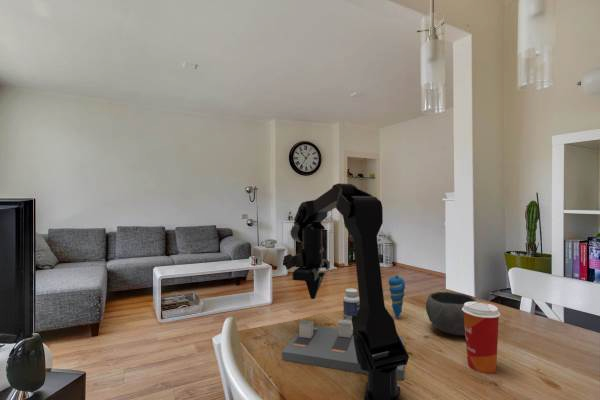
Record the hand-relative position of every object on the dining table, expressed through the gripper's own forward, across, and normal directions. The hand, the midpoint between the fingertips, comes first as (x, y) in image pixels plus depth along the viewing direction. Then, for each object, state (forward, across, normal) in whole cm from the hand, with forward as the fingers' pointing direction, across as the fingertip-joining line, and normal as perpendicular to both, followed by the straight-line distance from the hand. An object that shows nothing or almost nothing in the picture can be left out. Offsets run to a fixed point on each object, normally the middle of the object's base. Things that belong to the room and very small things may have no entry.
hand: (312, 298), depth 89 cm
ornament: (+11, -21, +23) cm, 33 cm away
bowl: (+11, -15, +39) cm, 43 cm away
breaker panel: (+10, +7, +11) cm, 17 cm away
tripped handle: (+8, +6, 0) cm, 10 cm away
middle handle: (+8, +3, +10) cm, 13 cm away
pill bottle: (+11, -15, +9) cm, 20 cm away
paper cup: (+11, +5, +42) cm, 44 cm away
